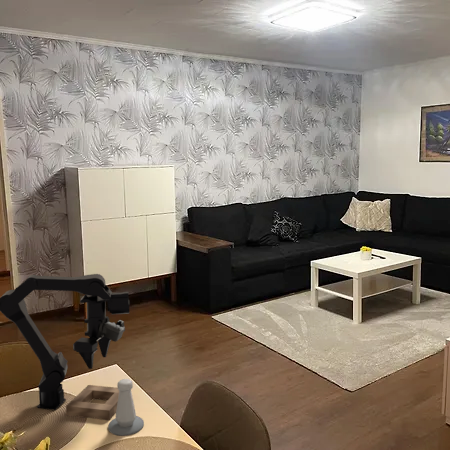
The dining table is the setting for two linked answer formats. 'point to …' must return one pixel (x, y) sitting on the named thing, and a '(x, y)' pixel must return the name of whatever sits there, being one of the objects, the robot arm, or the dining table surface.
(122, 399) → the salt shaker
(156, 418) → the dining table surface
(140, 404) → the dining table surface
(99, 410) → the walnut frame
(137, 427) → the slate coaster
